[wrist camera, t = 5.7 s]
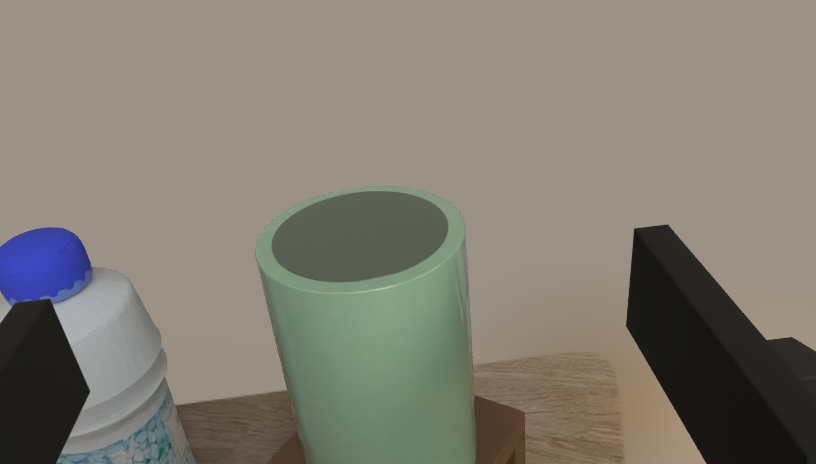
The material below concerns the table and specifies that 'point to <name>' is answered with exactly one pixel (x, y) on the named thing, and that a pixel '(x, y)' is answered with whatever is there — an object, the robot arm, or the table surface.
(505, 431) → the wooden nightstand
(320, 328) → the cup
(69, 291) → the bottle
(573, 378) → the table surface
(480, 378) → the table surface
